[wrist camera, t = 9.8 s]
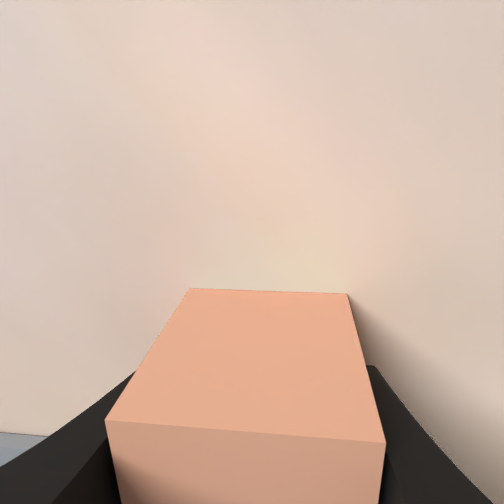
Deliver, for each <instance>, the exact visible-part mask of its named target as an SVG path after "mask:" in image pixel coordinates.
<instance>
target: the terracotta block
mask: <svg viewBox="0 0 504 504" xmlns="http://www.w3.org/2000/svg"><path fill="white" fill-rule="evenodd" d="M105 425H106V430H107V435H108V439H109V444H110V449H111V454H112V459H113V464H114V469H115V474H116V478H117V483H118V488H119V493H120V498H121V503H122V504H378V499H379V492H380V485H381V477H382V470H383V462H384V455H385V447H386V441H385V437H384V433H383V429H382V425H381V422H380V418H379V414H378V410H377V406H376V403H375V399H374V395H373V391H372V387H371V384H370V380H369V376H368V372H367V368H366V365H365V361H364V357H363V353H362V350H361V346H360V342H359V338H358V334H357V331H356V327H355V323H354V319H353V315H352V312H351V308H350V304H349V300H348V296H347V294H335V293H306V292H276V291H247V290H217V289H189V290H188V292H187V293H186V295H185V296H184V298H183V299H182V301H181V302H180V304H179V305H178V307H177V309H176V310H175V312H174V313H173V315H172V316H171V318H170V319H169V321H168V322H167V324H166V326H165V327H164V329H163V330H162V332H161V333H160V335H159V336H158V338H157V339H156V341H155V343H154V344H153V346H152V347H151V349H150V350H149V352H148V353H147V355H146V356H145V358H144V360H143V361H142V363H141V364H140V366H139V367H138V369H137V370H136V372H135V373H134V375H133V377H132V378H131V380H130V381H129V383H128V384H127V386H126V387H125V389H124V391H123V392H122V394H121V395H120V397H119V398H118V400H117V401H116V403H115V404H114V406H113V408H112V409H111V411H110V412H109V414H108V415H107V417H106V418H105Z"/></svg>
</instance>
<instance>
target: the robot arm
mask: <svg viewBox="0 0 504 504" xmlns="http://www.w3.org/2000/svg"><path fill="white" fill-rule="evenodd" d="M366 368H367V372H368V376H369V380H370V384H371V387H372V391H373V395H374V399H375V403H376V406H377V410H378V414H379V418H380V422H381V425H382V429H383V433H384V437H385V441H386V447H385V455H384V462H383V470H382V477H381V485H380V492H379V499H378V504H493V503H492V502H491V501H490V500H489V499H488V498H487V497H486V496H485V495H484V494H483V493H482V492H481V491H480V490H479V489H478V488H477V487H476V486H475V485H474V484H473V483H472V482H471V481H470V480H469V479H468V478H467V477H466V476H465V475H464V474H463V473H462V472H461V471H460V470H459V469H458V468H457V467H456V466H455V464H454V463H453V462H452V461H451V460H450V459H449V458H448V457H447V456H446V455H445V454H444V452H443V451H442V450H441V449H440V448H439V447H438V446H437V445H436V443H435V442H434V441H433V440H432V439H431V438H430V437H429V435H428V434H427V433H426V432H425V431H424V429H423V428H422V427H421V426H420V425H419V423H418V422H417V421H416V420H415V419H414V417H413V416H412V415H411V414H410V412H409V411H408V410H407V409H406V407H405V406H404V405H403V403H402V402H401V401H400V400H399V398H398V397H397V396H396V394H395V393H394V392H393V390H392V389H391V388H390V386H389V385H388V383H387V382H386V381H385V379H384V378H383V377H382V375H381V374H380V372H379V371H378V370H377V369H376V367H375V366H369V365H366ZM135 372H136V371H135ZM135 372H134V373H135ZM134 373H132V374H131V375H130V376H129V377H128V378H126V379H125V380H124V381H123V382H121V383H120V384H119V385H118V386H116V387H115V388H114V389H113V390H111V391H110V392H109V393H108V394H106V395H105V396H104V397H102V398H101V399H100V400H99V401H97V402H96V403H95V404H93V405H92V406H91V407H89V408H88V409H86V410H85V411H84V412H82V413H81V414H80V415H78V416H77V417H76V418H74V419H73V420H71V421H70V422H69V423H67V424H66V425H65V426H63V427H62V428H60V429H59V430H58V431H56V432H55V433H53V434H52V435H50V436H49V437H47V438H46V439H44V440H43V441H41V442H40V443H38V444H36V445H35V446H33V447H32V448H30V449H28V450H27V451H25V452H24V453H22V454H20V455H19V456H17V457H16V458H14V459H12V460H11V461H9V462H7V463H6V464H4V465H2V466H1V467H0V504H122V503H121V498H120V493H119V488H118V483H117V478H116V474H115V469H114V464H113V459H112V454H111V449H110V444H109V439H108V435H107V430H106V425H105V418H106V417H107V415H108V414H109V412H110V411H111V409H112V408H113V406H114V404H115V403H116V401H117V400H118V398H119V397H120V395H121V394H122V392H123V391H124V389H125V387H126V386H127V384H128V383H129V381H130V380H131V378H132V377H133V375H134Z"/></svg>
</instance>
